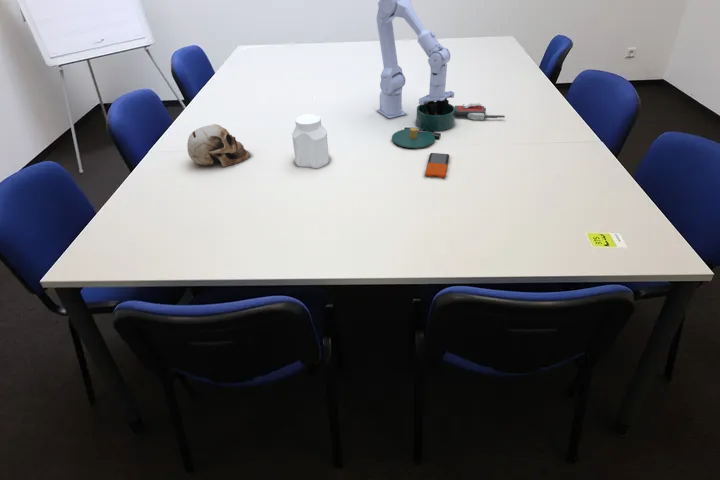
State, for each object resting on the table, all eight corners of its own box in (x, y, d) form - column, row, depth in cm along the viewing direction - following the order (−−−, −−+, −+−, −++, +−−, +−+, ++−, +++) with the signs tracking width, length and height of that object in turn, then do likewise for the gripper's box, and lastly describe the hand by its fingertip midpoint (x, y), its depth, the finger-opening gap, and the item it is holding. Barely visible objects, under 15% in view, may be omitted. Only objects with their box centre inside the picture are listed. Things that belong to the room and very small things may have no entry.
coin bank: (254, 154, 165) (243, 119, 157) (218, 180, 156) (204, 144, 147) (224, 145, 173) (213, 112, 165) (188, 169, 163) (173, 135, 155)
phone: (424, 173, 149) (430, 152, 160) (424, 177, 150) (429, 155, 161) (445, 175, 148) (449, 153, 159) (445, 178, 148) (449, 156, 160)
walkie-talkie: (451, 120, 184) (504, 121, 182) (452, 109, 181) (506, 110, 179) (451, 111, 191) (501, 112, 189) (452, 101, 188) (503, 101, 186)
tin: (409, 121, 185) (409, 106, 181) (439, 113, 190) (440, 98, 186) (429, 134, 175) (430, 119, 171) (461, 126, 180) (463, 110, 176)
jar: (291, 165, 158) (285, 123, 149) (301, 153, 166) (296, 112, 157) (323, 169, 156) (320, 126, 147) (332, 155, 163) (329, 114, 154)
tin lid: (384, 137, 174) (384, 126, 171) (419, 127, 179) (420, 117, 177) (406, 153, 163) (406, 142, 160) (443, 143, 168) (444, 132, 166)
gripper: (427, 90, 167) (425, 126, 176) (460, 83, 172) (457, 118, 181) (416, 84, 173) (415, 120, 181) (449, 77, 178) (446, 112, 186)
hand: (435, 119), depth 181 cm, fingers closed on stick, 3 cm apart
